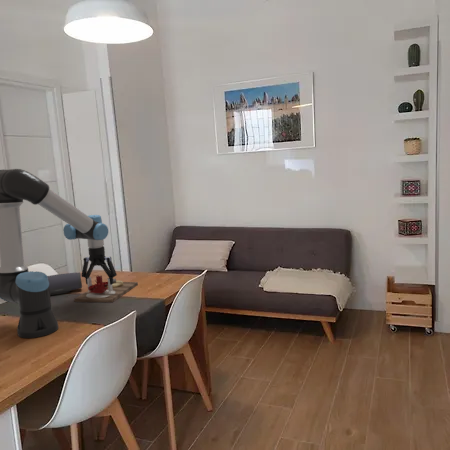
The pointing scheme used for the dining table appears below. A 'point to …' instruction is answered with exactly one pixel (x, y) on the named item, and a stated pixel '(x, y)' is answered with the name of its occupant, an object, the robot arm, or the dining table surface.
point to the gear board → (107, 293)
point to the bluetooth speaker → (64, 283)
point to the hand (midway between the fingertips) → (100, 290)
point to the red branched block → (98, 286)
